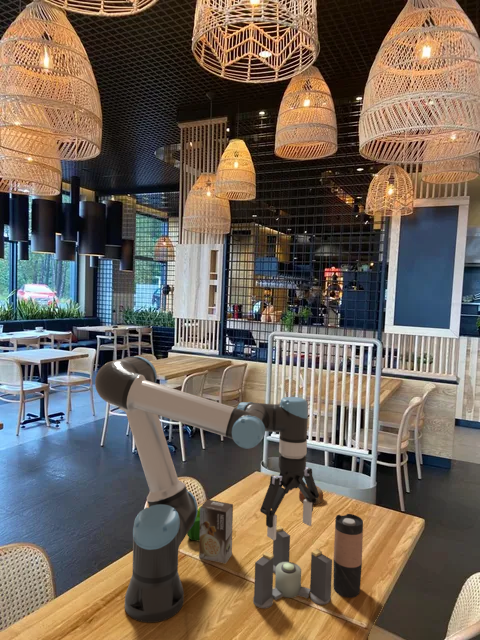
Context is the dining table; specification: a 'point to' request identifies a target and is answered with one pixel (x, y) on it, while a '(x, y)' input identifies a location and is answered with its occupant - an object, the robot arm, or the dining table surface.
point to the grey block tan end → (281, 547)
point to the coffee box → (216, 531)
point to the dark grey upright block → (264, 581)
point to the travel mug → (348, 555)
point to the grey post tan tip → (320, 578)
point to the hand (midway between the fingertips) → (289, 530)
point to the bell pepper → (195, 528)
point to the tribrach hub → (288, 581)
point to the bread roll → (315, 498)
